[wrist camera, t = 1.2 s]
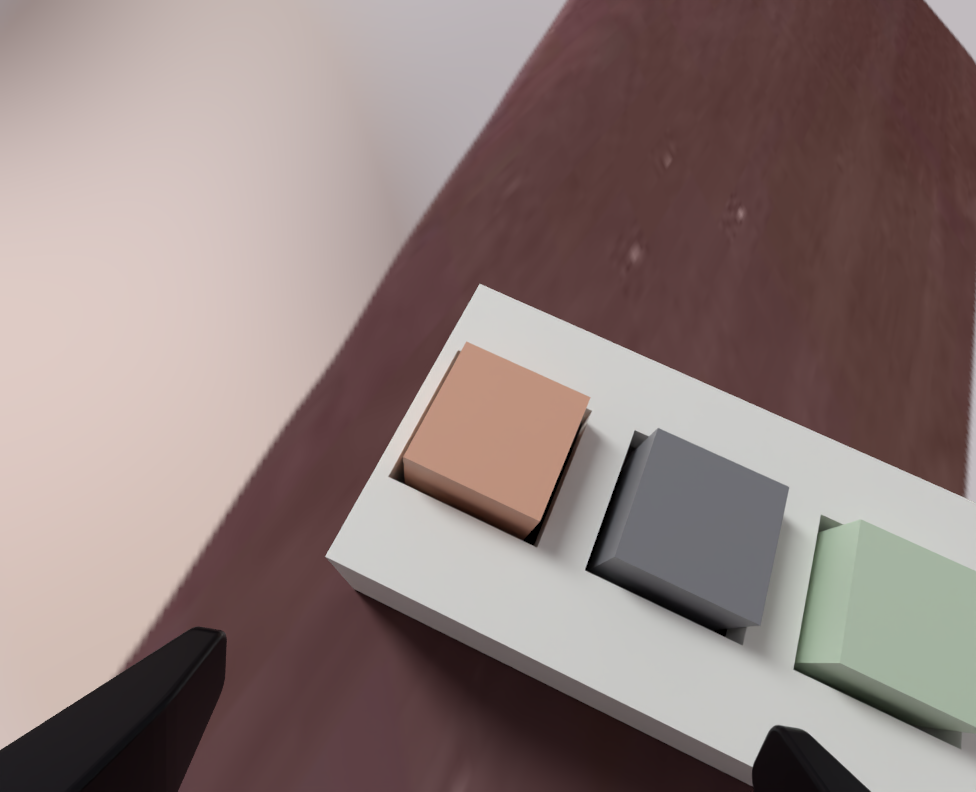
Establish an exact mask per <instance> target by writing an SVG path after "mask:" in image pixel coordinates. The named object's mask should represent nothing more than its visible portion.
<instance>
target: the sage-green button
mask: <svg viewBox="0 0 976 792" xmlns="http://www.w3.org/2000/svg"><path fill="white" fill-rule="evenodd" d="M793 669H794V670H796V671H798V672H800V673H802V674H804V675H806V676H808V677H810V678H813V679H815V680H817V681H819V682H821V683H823V684H825V685H827V686H829V687H831V688H834V689H836V690H838V691H840V692H842V693H844V694H846V695H848V696H850V697H852V698H855V699H857V700H859V701H861V702H863V703H865V704H867V705H869V706H871V707H873V708H876V709H878V710H880V711H882V712H884V713H886V714H888V715H890V716H892V717H894V718H897V719H899V720H901V721H903V722H905V723H907V724H909V725H913V726H920V727H928V728H935V729H943V730H950V731H958V732H965V733H973V734H976V571H975V570H972V569H970V568H968V567H966V566H963V565H961V564H959V563H957V562H955V561H952V560H950V559H948V558H946V557H944V556H941V555H939V554H937V553H935V552H932V551H930V550H928V549H926V548H924V547H921V546H919V545H917V544H915V543H912V542H910V541H908V540H906V539H904V538H901V537H899V536H897V535H895V534H892V533H890V532H888V531H886V530H884V529H881V528H879V527H877V526H875V525H873V524H870V523H868V522H866V521H864V520H861V519H860V520H857V521H854V522H850V523H847V524H844V525H841V526H838V527H834V528H831V529H828V530H825V531H822V532H819V533H818V534H817V539H816V545H815V551H814V556H813V562H812V568H811V573H810V579H809V584H808V590H807V596H806V601H805V607H804V612H803V618H802V624H801V629H800V635H799V640H798V646H797V652H796V657H795V663H794V668H793Z"/></svg>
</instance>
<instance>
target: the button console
mask: <svg viewBox="0 0 976 792" xmlns="http://www.w3.org/2000/svg"><path fill="white" fill-rule="evenodd" d="M466 341H467V342H469V343H471V344H473V345H475V346H478V347H480V348H482V349H484V350H487V351H489V352H491V353H493V354H495V355H498V356H500V357H502V358H504V359H507V360H509V361H511V362H513V363H515V364H518V365H520V366H522V367H524V368H526V369H529V370H531V371H533V372H535V373H538V374H540V375H542V376H544V377H546V378H549V379H551V380H553V381H555V382H558V383H560V384H562V385H564V386H566V387H569V388H571V389H573V390H575V391H578V392H580V393H582V394H584V395H586V396H589V397H591V398H590V400H589V403H588V405H587V407H586V410H585V412H584V415H583V417H582V420H581V422H580V425H579V427H578V430H577V432H576V434H575V437H574V439H573V442H572V444H571V448H573V450H572V452H571V454H570V457H569V459H568V462H567V464H566V467H565V469H564V472H563V474H562V477H561V479H560V482H559V484H558V487H557V489H556V492H555V494H554V496H553V499H552V501H551V504H550V506H549V509H548V511H547V514H546V516H545V519H544V521H543V524H542V526H541V529H540V531H539V534H538V536H537V538H536V541H535V543H534V546H533V545H531V544H528V543H526V542H524V541H522V540H520V539H518V538H516V537H514V536H512V535H510V534H507V533H505V532H503V531H501V530H499V529H497V528H495V527H493V526H491V525H489V524H486V523H484V522H482V521H480V520H478V519H476V518H474V517H472V516H470V515H468V514H465V513H463V512H461V511H459V510H457V509H455V508H453V507H451V506H449V505H447V504H444V503H442V502H440V501H438V500H436V499H434V498H432V497H430V496H428V495H426V494H423V493H421V492H419V491H418V490H416V489H414V488H412V487H409V486H407V485H405V479H404V463H403V456H404V454H405V452H406V451H407V449H408V447H409V445H410V443H411V441H412V440H413V438H414V436H415V434H416V432H417V431H418V429H419V427H420V425H421V423H422V421H423V420H424V418H425V416H426V414H427V412H428V410H429V409H430V407H431V405H432V403H433V401H434V400H435V398H436V396H437V394H438V392H439V390H440V389H441V387H442V385H443V383H444V381H445V379H446V378H447V376H448V374H449V372H450V370H451V369H452V367H453V365H454V363H455V361H456V359H457V358H458V356H459V354H460V352H461V350H462V348H463V347H464V345H465V343H466ZM657 428H660V429H662V430H664V431H666V432H668V433H671V434H673V435H675V436H677V437H680V438H682V439H684V440H686V441H688V442H691V443H693V444H695V445H697V446H700V447H702V448H704V449H706V450H708V451H711V452H713V453H715V454H717V455H719V456H722V457H724V458H726V459H728V460H731V461H733V462H735V463H737V464H739V465H742V466H744V467H746V468H748V469H751V470H753V471H755V472H757V473H759V474H762V475H764V476H766V477H768V478H770V479H773V480H775V481H777V482H779V483H782V484H784V485H786V486H788V487H789V491H788V496H787V501H786V506H785V511H784V515H783V520H782V525H781V530H780V535H779V539H778V544H777V549H776V554H775V558H774V563H773V568H772V573H771V578H770V582H769V587H768V592H767V597H766V601H765V606H764V611H763V616H762V621H761V625H760V626H750V627H740V628H730V629H727V632H726V636H725V637H724V636H722V635H719V634H717V633H715V632H713V631H711V630H709V629H707V628H705V627H703V626H701V625H698V624H696V623H694V622H692V621H690V620H688V619H686V618H684V617H682V616H680V615H678V614H675V613H673V612H671V611H669V610H667V609H665V608H663V607H661V606H659V605H657V604H654V603H652V602H650V601H648V600H646V599H644V598H642V597H640V596H638V595H636V594H633V593H631V592H629V591H627V590H625V589H623V588H621V587H619V586H617V585H615V584H612V583H610V582H608V581H606V580H604V579H602V578H600V577H598V576H596V575H594V574H591V573H589V572H587V571H585V568H586V565H587V563H588V560H589V557H590V554H591V551H592V549H593V546H594V543H595V540H596V537H597V535H598V532H599V529H600V526H601V523H602V521H603V518H604V515H605V512H606V509H607V507H608V504H609V501H610V498H611V495H612V493H613V490H614V487H615V484H616V481H617V479H618V476H619V473H620V470H621V471H623V468H624V465H625V462H626V459H627V457H628V456H629V455H630V454H631V453H632V452H633V451H634V450H635V449H636V448H637V447H638V446H640V445H641V444H642V443H643V442H644V441H645V440H646V439H647V438H648V437H649V436H650V435H651V434H652V433H653V432H654V431H655V430H656V429H657ZM860 519H861V520H864V521H866V522H868V523H870V524H873V525H875V526H877V527H879V528H881V529H884V530H886V531H888V532H890V533H892V534H895V535H897V536H899V537H901V538H904V539H906V540H908V541H910V542H912V543H915V544H917V545H919V546H921V547H924V548H926V549H928V550H930V551H932V552H935V553H937V554H939V555H941V556H944V557H946V558H948V559H950V560H952V561H955V562H957V563H959V564H961V565H963V566H966V567H968V568H970V569H972V570H975V571H976V503H975V502H972V501H970V500H968V499H966V498H964V497H961V496H959V495H957V494H955V493H952V492H950V491H948V490H945V489H943V488H941V487H939V486H936V485H934V484H932V483H930V482H927V481H925V480H923V479H921V478H918V477H916V476H914V475H911V474H909V473H907V472H905V471H902V470H900V469H898V468H896V467H893V466H891V465H889V464H887V463H884V462H882V461H880V460H878V459H875V458H873V457H871V456H868V455H866V454H864V453H862V452H859V451H857V450H855V449H853V448H850V447H848V446H846V445H844V444H841V443H839V442H837V441H834V440H832V439H830V438H828V437H825V436H823V435H821V434H819V433H816V432H814V431H812V430H810V429H807V428H805V427H803V426H800V425H798V424H796V423H794V422H791V421H789V420H787V419H785V418H782V417H780V416H778V415H776V414H773V413H771V412H769V411H767V410H764V409H762V408H760V407H757V406H755V405H753V404H751V403H748V402H746V401H744V400H742V399H739V398H737V397H735V396H733V395H730V394H728V393H726V392H723V391H721V390H719V389H717V388H714V387H712V386H710V385H708V384H705V383H703V382H701V381H699V380H696V379H694V378H692V377H689V376H687V375H685V374H683V373H680V372H678V371H676V370H674V369H671V368H669V367H667V366H665V365H662V364H660V363H658V362H656V361H653V360H651V359H649V358H646V357H644V356H642V355H640V354H637V353H635V352H633V351H631V350H628V349H626V348H624V347H622V346H619V345H617V344H615V343H612V342H610V341H608V340H606V339H603V338H601V337H599V336H597V335H594V334H592V333H590V332H588V331H585V330H583V329H581V328H579V327H576V326H574V325H572V324H569V323H567V322H565V321H563V320H560V319H558V318H556V317H554V316H551V315H549V314H547V313H545V312H542V311H540V310H538V309H535V308H533V307H531V306H529V305H526V304H524V303H522V302H520V301H517V300H515V299H513V298H511V297H508V296H506V295H504V294H501V293H499V292H497V291H495V290H492V289H490V288H488V287H486V286H483V285H481V284H479V286H478V288H477V290H476V292H475V293H474V295H473V297H472V299H471V300H470V302H469V304H468V306H467V307H466V309H465V311H464V313H463V314H462V316H461V318H460V320H459V322H458V323H457V325H456V327H455V329H454V330H453V332H452V334H451V336H450V337H449V339H448V341H447V343H446V344H445V346H444V348H443V350H442V351H441V353H440V355H439V357H438V359H437V360H436V362H435V364H434V366H433V367H432V369H431V371H430V373H429V374H428V376H427V378H426V380H425V381H424V383H423V385H422V387H421V389H420V390H419V392H418V394H417V396H416V397H415V399H414V401H413V403H412V404H411V406H410V408H409V410H408V411H407V413H406V415H405V417H404V419H403V420H402V422H401V424H400V426H399V427H398V429H397V431H396V433H395V434H394V436H393V438H392V440H391V441H390V443H389V445H388V447H387V449H386V450H385V452H384V454H383V456H382V457H381V459H380V461H379V463H378V464H377V466H376V468H375V470H374V471H373V473H372V475H371V477H370V479H369V480H368V482H367V484H366V486H365V487H364V489H363V491H362V493H361V494H360V496H359V498H358V500H357V501H356V503H355V505H354V507H353V509H352V510H351V512H350V514H349V516H348V517H347V519H346V521H345V523H344V524H343V526H342V528H341V530H340V531H339V533H338V535H337V537H336V538H335V540H334V542H333V544H332V546H331V547H330V549H329V551H328V553H327V554H326V556H325V557H326V558H327V559H328V560H329V561H330V562H331V564H332V565H333V566H334V567H335V568H336V569H337V570H338V572H339V573H340V574H341V575H342V576H343V577H344V578H345V580H346V581H347V582H348V583H349V584H350V585H351V586H352V587H353V589H355V590H357V591H359V592H361V593H363V594H365V595H367V596H369V597H371V598H373V599H375V600H377V601H379V602H381V603H383V604H385V605H387V606H389V607H391V608H393V609H395V610H397V611H399V612H401V613H403V614H405V615H407V616H409V617H411V618H413V619H416V620H418V621H420V622H422V623H424V624H426V625H428V626H430V627H432V628H434V629H436V630H438V631H440V632H442V633H444V634H446V635H448V636H450V637H452V638H454V639H456V640H458V641H460V642H462V643H464V644H466V645H468V646H470V647H472V648H474V649H476V650H478V651H480V652H482V653H484V654H486V655H488V656H490V657H492V658H494V659H496V660H498V661H500V662H502V663H504V664H506V665H508V666H510V667H512V668H514V669H516V670H518V671H520V672H522V673H524V674H526V675H529V676H531V677H533V678H535V679H537V680H539V681H541V682H543V683H545V684H547V685H549V686H551V687H553V688H555V689H557V690H559V691H561V692H563V693H565V694H567V695H569V696H571V697H573V698H575V699H577V700H579V701H581V702H583V703H585V704H587V705H589V706H591V707H593V708H595V709H597V710H599V711H601V712H603V713H605V714H607V715H609V716H611V717H613V718H615V719H617V720H619V721H621V722H623V723H625V724H627V725H629V726H631V727H633V728H635V729H637V730H640V731H642V732H644V733H646V734H648V735H650V736H652V737H654V738H656V739H658V740H660V741H662V742H664V743H666V744H668V745H670V746H672V747H674V748H676V749H678V750H680V751H682V752H684V753H686V754H688V755H690V756H692V757H694V758H696V759H698V760H700V761H702V762H704V763H706V764H708V765H710V766H712V767H714V768H716V769H718V770H720V771H722V772H724V773H726V774H728V775H730V776H732V777H734V778H736V779H738V780H740V781H742V782H744V783H746V784H748V785H750V786H753V783H752V768H753V764H754V761H755V759H756V757H757V755H758V753H759V751H760V749H761V746H762V744H763V742H764V740H765V738H766V736H767V734H768V732H769V730H770V728H772V727H773V726H775V725H782V726H788V727H794V728H800V729H802V730H805V731H806V732H808V733H809V734H810V735H811V736H812V737H813V738H814V739H815V740H817V741H818V742H819V743H820V744H821V745H822V746H823V747H824V748H825V749H826V750H827V751H828V752H829V753H830V754H831V755H833V756H834V757H835V758H836V759H837V760H838V761H839V762H840V763H841V764H842V765H843V766H844V767H845V768H846V769H847V770H849V771H850V772H851V773H852V774H853V775H854V776H855V777H856V778H857V779H858V780H859V781H860V782H861V783H862V784H863V785H865V786H866V787H867V788H868V789H869V790H870V791H871V792H976V734H973V733H965V732H958V731H950V730H943V729H935V728H928V727H920V726H913V725H909V724H907V723H905V722H903V721H901V720H899V719H897V718H894V717H892V716H890V715H888V714H886V713H884V712H882V711H880V710H878V709H876V708H873V707H871V706H869V705H867V704H865V703H863V702H861V701H859V700H857V699H855V698H852V697H850V696H848V695H846V694H844V693H842V692H840V691H838V690H836V689H834V688H831V687H829V686H827V685H825V684H823V683H821V682H819V681H817V680H815V679H813V678H810V677H808V676H806V675H804V674H802V673H800V672H798V671H795V670H793V668H794V663H795V657H796V652H797V646H798V640H799V635H800V629H801V624H802V618H803V612H804V607H805V601H806V596H807V590H808V584H809V579H810V573H811V568H812V562H813V556H814V551H815V545H816V539H817V534H818V533H819V532H822V531H825V530H828V529H831V528H834V527H838V526H841V525H844V524H847V523H850V522H854V521H857V520H860Z"/></svg>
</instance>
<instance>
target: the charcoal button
mask: <svg viewBox="0 0 976 792" xmlns="http://www.w3.org/2000/svg"><path fill="white" fill-rule="evenodd" d="M788 491H789V487H788V486H786V485H784V484H782V483H779V482H777V481H775V480H773V479H770V478H768V477H766V476H764V475H762V474H759V473H757V472H755V471H753V470H751V469H748V468H746V467H744V466H742V465H739V464H737V463H735V462H733V461H731V460H728V459H726V458H724V457H722V456H719V455H717V454H715V453H713V452H711V451H708V450H706V449H704V448H702V447H700V446H697V445H695V444H693V443H691V442H688V441H686V440H684V439H682V438H680V437H677V436H675V435H673V434H671V433H668V432H666V431H664V430H662V429H660V428H657V429H656V430H655V431H654V432H653V433H652V434H651V435H650V436H649V437H648V438H647V439H646V440H645V441H644V442H643V443H642V444H641V445H640V446H638V447H637V448H636V449H635V450H634V451H633V452H632V453H631V454H630V455H629V456H628V457H627V459H626V462H625V465H624V468H623V471H622V473H621V476H620V479H619V482H618V485H617V487H616V490H615V493H614V496H613V499H612V502H611V504H610V507H609V510H608V513H607V516H606V518H605V521H604V524H603V527H602V530H601V533H600V535H599V538H598V541H597V544H596V547H595V549H594V552H593V555H592V558H591V561H590V564H589V566H588V569H587V571H588V572H590V573H592V574H594V575H596V576H598V577H601V578H603V579H605V580H607V581H609V582H611V583H613V584H615V585H617V586H619V587H622V588H624V589H626V590H628V591H630V592H632V593H634V594H636V595H638V596H640V597H643V598H645V599H647V600H649V601H651V602H653V603H655V604H657V605H659V606H661V607H664V608H666V609H668V610H670V611H672V612H674V613H676V614H678V615H680V616H682V617H685V618H687V619H689V620H691V621H693V622H695V623H697V624H699V625H701V626H703V627H706V628H708V629H710V630H720V629H730V628H740V627H750V626H760V625H761V621H762V616H763V611H764V606H765V601H766V597H767V592H768V587H769V582H770V578H771V573H772V568H773V563H774V558H775V554H776V549H777V544H778V539H779V535H780V530H781V525H782V520H783V515H784V511H785V506H786V501H787V496H788Z"/></svg>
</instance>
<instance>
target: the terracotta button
mask: <svg viewBox="0 0 976 792" xmlns="http://www.w3.org/2000/svg"><path fill="white" fill-rule="evenodd" d="M590 398H591V397H589V396H586V395H584V394H582V393H580V392H578V391H575V390H573V389H571V388H569V387H566V386H564V385H562V384H560V383H558V382H555V381H553V380H551V379H549V378H546V377H544V376H542V375H540V374H538V373H535V372H533V371H531V370H529V369H526V368H524V367H522V366H520V365H518V364H515V363H513V362H511V361H509V360H507V359H504V358H502V357H500V356H498V355H495V354H493V353H491V352H489V351H487V350H484V349H482V348H480V347H478V346H475V345H473V344H471V343H469V342H467V341H466V343H465V345H464V347H463V348H462V350H461V352H460V354H459V356H458V358H457V359H456V361H455V363H454V365H453V367H452V369H451V370H450V372H449V374H448V376H447V378H446V379H445V381H444V383H443V385H442V387H441V389H440V390H439V392H438V394H437V396H436V398H435V400H434V401H433V403H432V405H431V407H430V409H429V410H428V412H427V414H426V416H425V418H424V420H423V421H422V423H421V425H420V427H419V429H418V431H417V432H416V434H415V436H414V438H413V440H412V441H411V443H410V445H409V447H408V449H407V451H406V452H405V454H404V456H403V463H404V479H405V485H407V486H409V487H412V488H414V489H416V490H418V491H420V492H422V493H424V494H426V495H428V496H430V497H433V498H435V499H437V500H439V501H441V502H443V503H445V504H447V505H449V506H451V507H454V508H456V509H458V510H460V511H462V512H464V513H466V514H468V515H470V516H472V517H475V518H477V519H479V520H481V521H483V522H485V523H487V524H489V525H491V526H493V527H496V528H498V529H500V530H502V531H504V532H506V533H508V534H510V535H512V536H514V537H517V538H519V539H521V540H524V539H525V538H526V537H527V535H528V534H529V533H530V532H531V531H532V530H533V529H534V528H535V527H536V525H537V524H538V523H539V522H540V520H541V518H542V516H543V513H544V511H545V508H546V506H547V503H548V501H549V498H550V496H551V493H552V491H553V489H554V486H555V484H556V481H557V479H558V476H559V474H560V471H561V469H562V466H563V464H564V462H565V459H566V457H567V454H568V452H569V449H570V447H571V444H572V442H573V439H574V437H575V434H576V432H577V430H578V427H579V425H580V422H581V420H582V417H583V415H584V412H585V410H586V407H587V405H588V403H589V400H590Z"/></svg>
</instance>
